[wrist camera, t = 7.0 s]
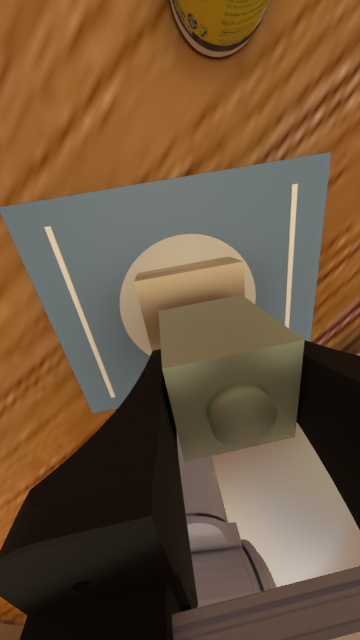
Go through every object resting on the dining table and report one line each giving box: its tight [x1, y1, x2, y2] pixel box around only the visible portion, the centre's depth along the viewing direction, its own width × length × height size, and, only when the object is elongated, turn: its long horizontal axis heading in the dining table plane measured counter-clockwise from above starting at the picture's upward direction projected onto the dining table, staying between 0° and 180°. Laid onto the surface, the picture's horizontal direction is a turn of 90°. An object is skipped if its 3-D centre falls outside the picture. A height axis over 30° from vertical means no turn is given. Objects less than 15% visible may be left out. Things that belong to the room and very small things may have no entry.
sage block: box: [159, 295, 305, 462], centre depth 9 cm, size 4×4×6 cm
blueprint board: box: [0, 152, 331, 413], centre depth 16 cm, size 18×22×4 cm
